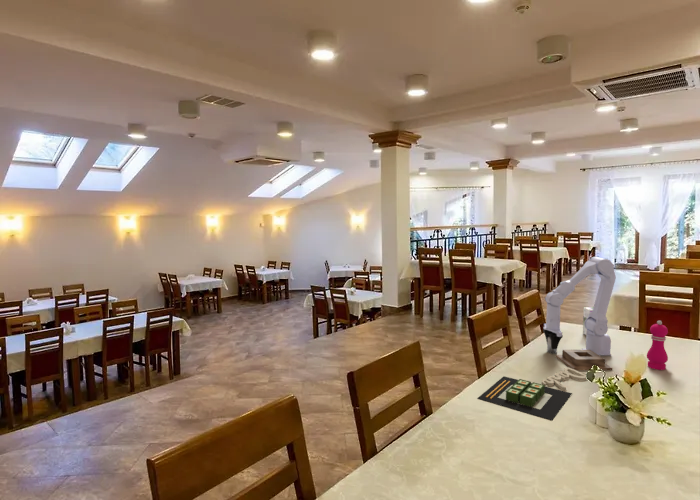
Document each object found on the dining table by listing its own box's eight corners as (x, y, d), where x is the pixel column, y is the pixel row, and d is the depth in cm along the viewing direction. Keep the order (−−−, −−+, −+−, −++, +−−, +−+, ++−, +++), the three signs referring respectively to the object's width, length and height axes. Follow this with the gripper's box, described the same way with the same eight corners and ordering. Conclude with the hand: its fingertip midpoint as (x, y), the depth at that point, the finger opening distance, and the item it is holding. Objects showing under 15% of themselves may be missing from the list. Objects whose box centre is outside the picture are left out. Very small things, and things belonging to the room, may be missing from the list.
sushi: (503, 378, 173) (503, 369, 172) (571, 395, 156) (572, 385, 156) (477, 400, 154) (477, 390, 153) (551, 422, 138) (552, 411, 137)
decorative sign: (567, 366, 179) (592, 374, 171) (567, 370, 179) (592, 378, 171) (536, 380, 166) (562, 389, 157) (536, 384, 166) (562, 393, 158)
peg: (554, 350, 202) (554, 336, 201) (558, 353, 198) (558, 338, 197) (545, 350, 202) (546, 336, 201) (549, 353, 198) (550, 338, 197)
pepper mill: (647, 368, 179) (650, 321, 177) (645, 363, 185) (647, 317, 183) (668, 371, 175) (672, 323, 173) (665, 365, 182) (668, 319, 180)
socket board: (591, 356, 194) (591, 347, 193) (612, 370, 178) (612, 360, 177) (555, 356, 194) (555, 348, 193) (573, 370, 178) (573, 361, 178)
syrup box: (599, 337, 221) (600, 309, 220) (587, 337, 221) (589, 309, 220) (593, 333, 227) (594, 306, 225) (582, 333, 227) (583, 306, 225)
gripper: (537, 314, 205) (536, 342, 207) (551, 322, 191) (550, 352, 192) (552, 314, 205) (551, 342, 207) (567, 322, 191) (566, 352, 192)
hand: (552, 347), depth 200 cm, fingers closed on peg, 4 cm apart
